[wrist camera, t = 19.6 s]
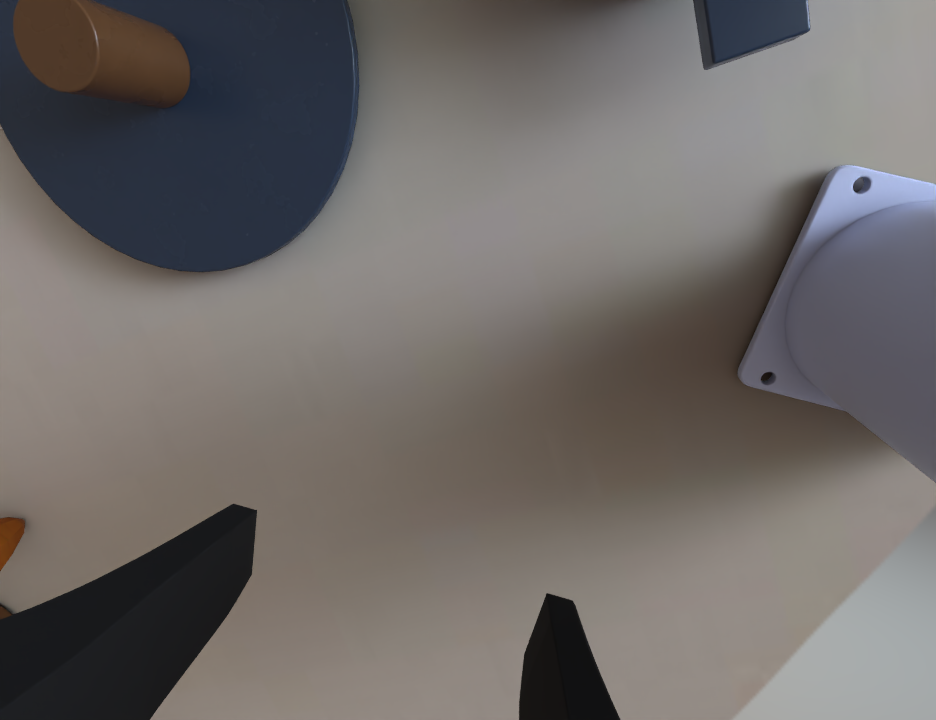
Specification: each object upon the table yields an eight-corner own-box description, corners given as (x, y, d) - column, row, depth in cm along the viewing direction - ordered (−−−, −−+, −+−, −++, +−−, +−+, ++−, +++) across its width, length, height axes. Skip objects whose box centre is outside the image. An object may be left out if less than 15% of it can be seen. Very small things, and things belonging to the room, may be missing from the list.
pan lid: (263, -276, 15) (134, -479, 10) (420, 207, 19) (379, 219, 15) (-76, -69, 19) (-290, -151, 14) (120, 306, 23) (7, 341, 18)
